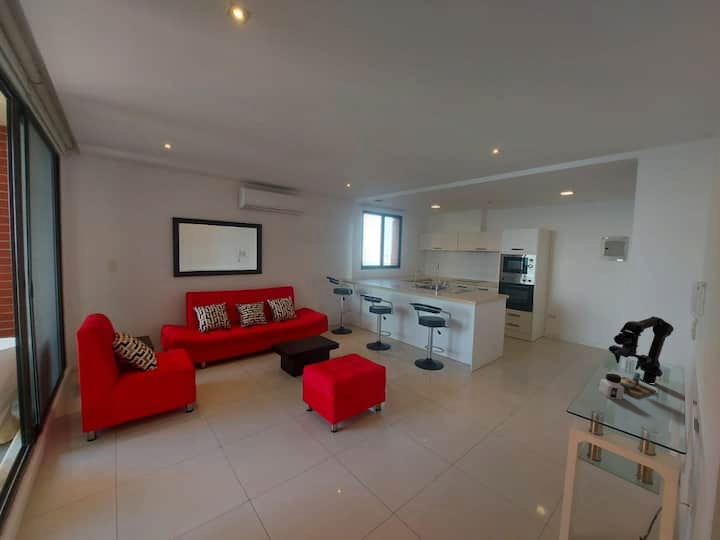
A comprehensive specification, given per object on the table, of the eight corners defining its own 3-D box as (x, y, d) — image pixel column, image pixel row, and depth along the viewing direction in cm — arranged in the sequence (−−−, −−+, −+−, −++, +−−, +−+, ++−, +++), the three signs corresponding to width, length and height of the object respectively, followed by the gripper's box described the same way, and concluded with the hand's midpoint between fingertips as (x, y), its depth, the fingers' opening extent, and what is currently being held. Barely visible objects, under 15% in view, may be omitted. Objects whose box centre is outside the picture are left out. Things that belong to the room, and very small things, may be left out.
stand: (624, 378, 189) (625, 370, 188) (655, 392, 174) (657, 383, 173) (604, 383, 182) (605, 374, 181) (635, 398, 167) (637, 388, 166)
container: (622, 400, 165) (626, 379, 163) (606, 398, 166) (610, 377, 164) (613, 392, 172) (617, 372, 170) (598, 390, 174) (602, 370, 172)
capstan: (633, 391, 171) (635, 381, 170) (611, 382, 181) (613, 372, 180) (647, 387, 176) (649, 377, 175) (626, 378, 186) (628, 369, 185)
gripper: (605, 339, 180) (601, 362, 183) (643, 351, 164) (639, 376, 166) (615, 336, 185) (611, 359, 188) (653, 348, 168) (649, 372, 171)
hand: (626, 366), depth 178 cm, fingers open, 9 cm apart
